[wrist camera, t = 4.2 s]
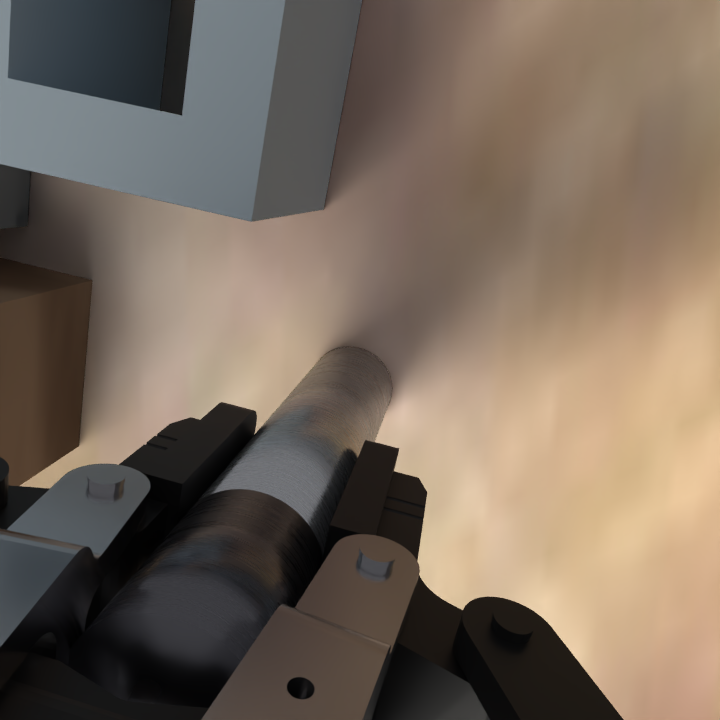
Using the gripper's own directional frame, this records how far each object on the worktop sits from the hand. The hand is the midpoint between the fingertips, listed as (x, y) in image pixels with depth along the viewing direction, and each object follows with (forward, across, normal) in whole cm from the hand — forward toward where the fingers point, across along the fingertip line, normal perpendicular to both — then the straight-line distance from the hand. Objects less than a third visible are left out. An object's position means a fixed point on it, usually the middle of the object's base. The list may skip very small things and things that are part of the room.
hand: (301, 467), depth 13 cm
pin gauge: (+6, 0, 0) cm, 6 cm away
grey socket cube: (+6, +5, -8) cm, 11 cm away
